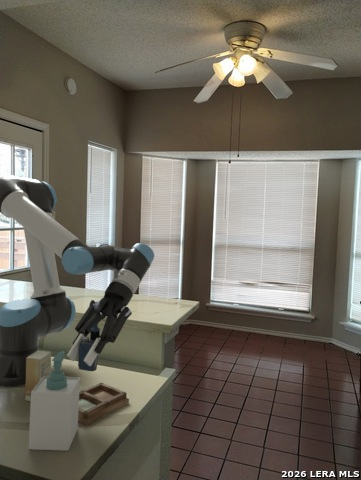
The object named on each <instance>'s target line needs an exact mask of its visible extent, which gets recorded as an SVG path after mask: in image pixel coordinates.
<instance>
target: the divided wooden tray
mask: <svg viewBox="0 0 361 480" xmlns="http://www.w3.org/2000/svg"><path fill="white" fill-rule="evenodd" d="M129 403H130V398H128V397H127V392H126V391H123V390H121V389H119V388H116V387H113V386H110V385H109V384H106V383H104V382H100V383H97V384H95V385H93V386H90V387H87V388H86V389H85V388H84V390H80V391H79V411H78V422H81V423H83V424H85V425H87V426H89V425H91V424H92V423H94V422H96V421H98V420H100V419H102V418H103V416H104V417H105V416H107V415H109V414H111V413H112V412H114V410H115V411H116V410H119V409H120V408H122V407H123V406H126V405H128V404H129Z"/></svg>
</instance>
